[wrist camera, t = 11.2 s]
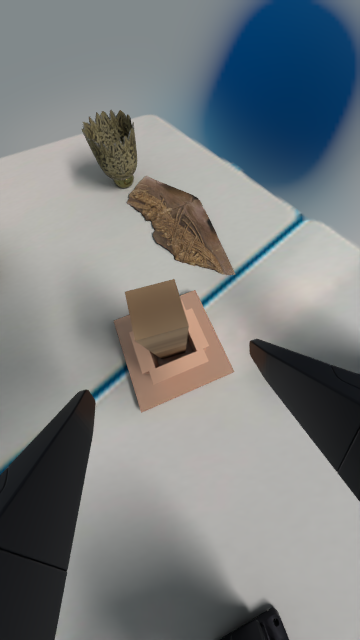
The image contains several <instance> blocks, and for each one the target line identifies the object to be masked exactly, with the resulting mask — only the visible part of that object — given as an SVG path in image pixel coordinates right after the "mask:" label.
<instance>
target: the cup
mask: <svg viewBox="0 0 360 640" xmlns="http://www.w3.org/2000/svg"><path fill="white" fill-rule="evenodd" d="M89 122H90V124H89V123H85V122H83V129H82V132H83V134H84V136H85V138H86V140H87V142H88V144H89V146H90V148H91V150H92V152H93V154H94V156H95V158H96V160H97V162H98V164H99V165H100V167H101V169H102V170H103V171H104V173H105V174H106V175H107V176H109V177H110V178H112V179H113V180H114V182H115V184H116V185H117V186H118V187H121V188H127V187H129V186H131V185H132V183H133V180H134V176H133V174H134V172H135V170H136V167H137V151H136V141H135V133H134V128H133V126H134V123H132V124H131V118H130V116H129V115H127V117H126V115H125V114H124V113H123V112H122V111H121V110H120V111H119V113H118V114H117V116H115V114H114V112H113V111H112V110H110V118H109V117H108V115H107V114H106V113H105V112H104V111H102V113H101V115H99V114H98V113H96V119H95V122H94V121H93V120H92V119H91V118H90V117H89Z"/></svg>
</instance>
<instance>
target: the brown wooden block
mask: <svg viewBox="0 0 360 640" xmlns="http://www.w3.org/2000/svg"><path fill="white" fill-rule="evenodd" d="M125 295H126V300H127V304H128V309H129V314H130V319H131V324H132V329H133V333H134V338H135V341H136V342H138V343H139V344H140V345H142V346H143V347H145V348H146V349H148V350H149V351H151V352H152V353H154V354H155V355H157V356H158V357H159V358H161V359H166V358H169V357H173V356H176V355H180V354H183V353H185V351H186V344H187V336H188V328H189V325H188V321H187V318H186V315H185V312H184V309H183V305H182V302H181V299H180V296H179V293H178V289H177V286H176V283H175V280H174V279H173V280H169V281H165V282H161V283H158V284H154V285H150V286H146V287H142V288H138V289H134V290H130V291H127V292H125Z"/></svg>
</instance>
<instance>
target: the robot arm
mask: <svg viewBox="0 0 360 640" xmlns="http://www.w3.org/2000/svg"><path fill="white" fill-rule="evenodd" d="M250 355H251V357H252V359H253V360H254V362H255V364H256V365H257V367H258V368H259V370H260V372H261V373H262V375H263V377H264V378H265V380H266V381H267V382H268V384H269V385H270V386H271V387H272V389H273V390H274V391H275V393H276V394H277V395H278V397H279V398H280V399H281V400H282V402H283V403H284V404H285V406H286V407H287V408H288V409H289V411H290V412H291V413H292V415H293V416H294V417H295V418H296V420H297V421H298V422H299V424H300V425H301V426H302V428H303V429H304V430H305V431H306V433H307V434H308V435H309V437H310V438H311V439H312V440H313V442H314V443H315V444H316V446H317V447H318V448H319V449H320V451H321V452H322V453H323V455H324V456H325V457H326V458H327V460H328V461H329V462H330V464H331V465H332V466H333V468H334V469H335V470H336V471H337V472H338V474H339V475H340V477H341V478H342V479H343V481H344V482H345V483H346V484H347V486H348V487H349V488H350V490H351V491H352V492H353V494H354V495H355V496H356V497H357V499H358V500H359V501H360V374H357V373H354V372H351V371H348V370H345V369H342V368H339V367H336V366H333V365H330V364H327V363H325V362H322V361H319V360H316V359H313V358H310V357H308V356H305V355H302V354H299V353H296V352H293V351H291V350H288V349H285V348H282V347H279V346H276V345H273V344H271V343H268V342H265V341H262V340H259V339H254V340H251V341H250ZM94 416H95V399H94V398H93V396H92V395H91V393H90V392H89V390H83V391H79V392H78V393H77V394H76V395H75V396H74V397H73V398H72V399H71V400H70V401H69V402H68V404H67V405H66V406H65V407H64V408H63V409H62V410H61V411H60V412H59V413H58V414H57V415H56V416H55V417H54V418H53V420H52V421H51V422H50V423H49V424H48V425H47V426H46V427H45V428H44V429H43V430H42V431H41V432H40V433H39V434H38V436H37V437H36V438H35V439H34V440H33V441H32V442H31V443H30V444H29V445H28V446H27V447H26V448H25V449H24V450H23V451H22V453H21V454H20V455H19V456H18V457H17V458H16V459H15V460H14V461H13V462H12V463H11V464H10V465H9V468H7V469H6V470H5V471H4V472H3V473H2V474H1V475H0V640H55V635H56V629H57V624H58V619H59V613H60V608H61V603H62V597H63V592H64V587H65V581H66V576H67V569H68V564H69V559H70V554H71V548H72V543H73V538H74V532H75V527H76V522H77V516H78V511H79V506H80V500H81V495H82V490H83V484H84V479H85V474H86V468H87V463H88V458H89V452H90V447H91V442H92V436H93V428H94ZM274 618H276V620H274ZM220 640H289V638H288V636H287V633H286V631H285V628H284V626H283V623H282V621H281V618H280V616H279V613H278V611H277V610H276V609H274V608H272V609H270V610H268V611H266V612H265V613H263V614H261V615H260V616H258V617H256V618H255V619H253V620H251V621H250V622H248V623H246V624H245V625H243V626H241V627H240V628H238V629H237V630H235V631H233V632H232V633H230V634H228V635H227V636H225V637H223V638H222V639H220Z"/></svg>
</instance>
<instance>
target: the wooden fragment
mask: <svg viewBox="0 0 360 640" xmlns="http://www.w3.org/2000/svg"><path fill="white" fill-rule="evenodd" d="M129 197H130V198H129V200H128V201H127V204H130V205H131V206H133V207H134V208H135V209H136V210H138V211H140V212H141V213H142V214H143V216H144V217H145V219H146V221H152V225H153V227H154V229H155V231H154V233H153V237H154V239H155V240H156V242H157V243H158V244H161V245H162V246H163V247H164V248H166V249H168V250H169V251H170V252H171V253H172V254H173V255H174V256H175V260H177V261H180V262H182V263H187V264H190V265H194V266H195V265H198V266H200V267H205V268H209V269H212V270H217V272H219V273H221V274H226V275H234V274H235V273H234V270H233V268H232V266H231V264H230V262H229V260H228V257H227V256H226V253H225V251H224V249H223V247H222V245H221V243H220V241H219V239H218V237H217V234H216V232H215V230H214V228H213V226H212V223H211V221H210V219H209V217H208V215H207V214H206V212H205V210H204V208H203V207H202V206H203V205H202V204H201V202H200V200H198V198H197V197H195V196H193V195H191V194H189V193H186V192H184V191H181V190H178V189H176V188H174V187H171V186H169V185H167V184H164V183H161V182H159V181H157V180H154V179H152V178H150V177H148V176H145V177H144V178H143V179H142V180H141V181H140V182H139V184H138V185H137V186H136V187H135V189H134V190H133V191H132V192H131V193H130V194H129Z"/></svg>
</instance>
